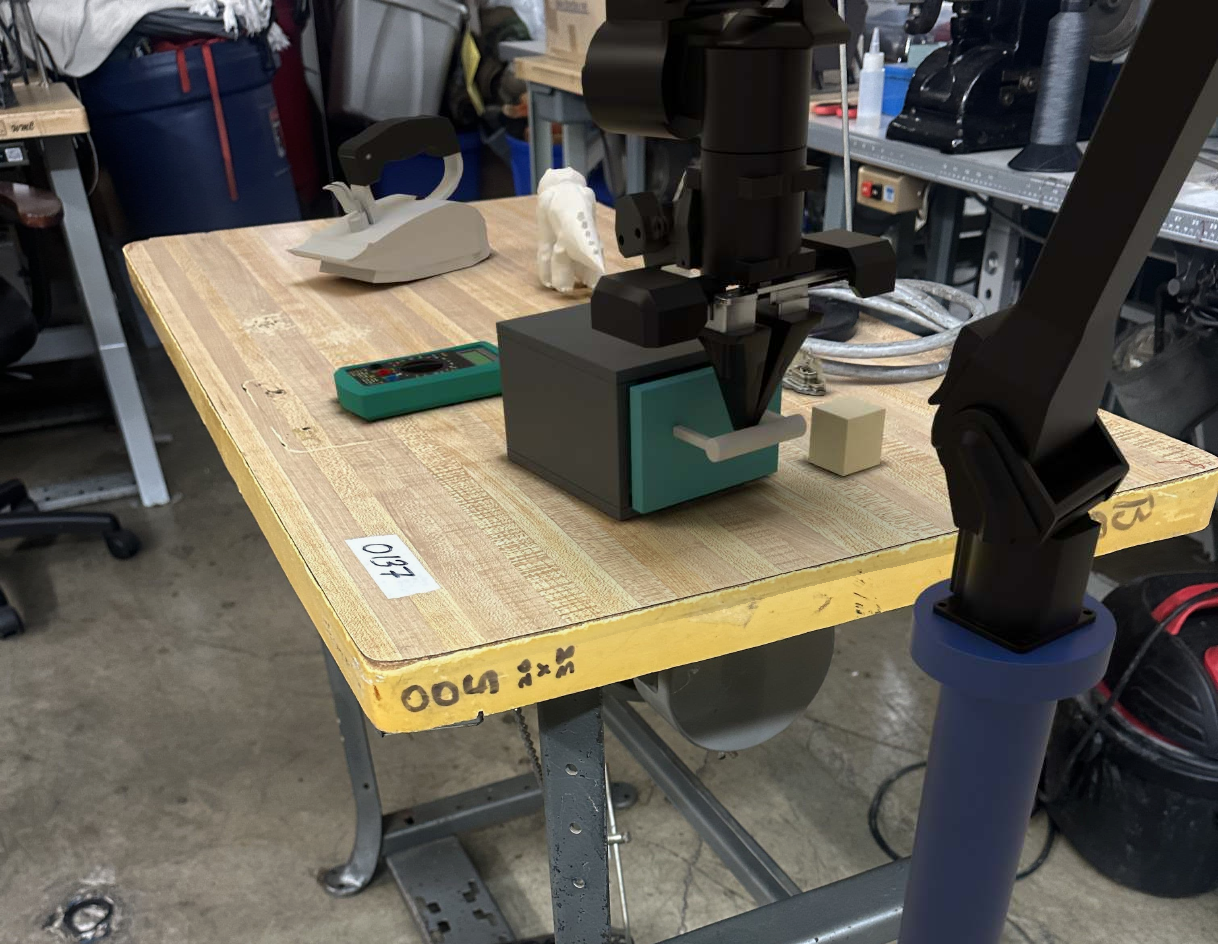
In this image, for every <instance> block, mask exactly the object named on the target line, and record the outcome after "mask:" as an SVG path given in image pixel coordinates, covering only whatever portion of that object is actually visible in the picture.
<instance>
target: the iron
mask: <svg viewBox="0 0 1218 944" xmlns="http://www.w3.org/2000/svg"><path fill="white" fill-rule="evenodd" d="M423 152H424V153H425V154H426V155H427V156H430V157H439V158H443V160H444V173H443V177H442V180H441V181H440V183H439V185H437V187H435V189H434V190H433V191H432V192H431V193H430V194H429V195H428V196H426V197H425V196H424V195H421V194H419V195H409V194H404V193H403V194H402V193H396V194H391V195H388V196H384V197H383V198H380V199H377V200H375V198H374V196H373V193H372V191H371V186H370V185H372V184H374V183H377V182H379V181H380V180H381V177H382V171H383V168H384V167H385V165H386V164H387V163H389V162H399V161H404V160H408V159H409V158H413V157H416V156H417V155H420V154H421V153H423ZM337 157H338V158H337V159H338V160H339V162H340V163H339V164H340V166H341V168H342V171H343V174H344V175H345V179H346V181H347V184H348V185H349V186H350V188H349V186H348V185H346V184H345V183H344V182H342V181H335V182H332V183H331V184H327V185H325V186H323V187H322V189H323V190H329V191H331V192H333V195H334V196H335V197H336V199H337V201H338V202H339V203H340V205H341V207H342V210H343V211H344V213H345V215H343V216H342V217H340V218H339V219H337V220H336V221H333V222H332V223H331V224H329V225H327V226H326V227H324V228H323V229H321V230H320V231H318V232H311V234H310V236H309V237H308V239H307V240H306V241H304V242H303V243H302V244H300V245H298V246H297V247H293V248H289V249H285V251H286V252H288V253H290V254H291V255H293V256H295V257H300V258H304V259H310V260H314V261H320V264H319V270H318V272H319V273H324V274H328V275H333V276H337V277H343V278H348V279H353V280H358V281H363V282H368V283H373V284H381V283H382V284H383V283H384V284H385V283H396V282H398V283H399V282H408V281H414V280H419V279H424V278H429V277H433V276H437V275H440V274H444V273H449V272H453V271H457V270H460V269H461V270H462V269H465V268H469V267H472V266H474V265H476V264H478V263H479V262H481V261H484V260H485V259H487V258H488V257H490V254H491V252H492V249H491V246H490V243H489V239H488V237H489V236H488V228H487V227H488V226H487V222H486V219H485V217H484V216H483V215H482V213H481V212H480V211H479V209H477V207H476V206H473V205H470V204H469V203H467V202H466V203H465V202H460V201H453V200H447V199H448V198H449V197H451V196H452V194H453V193H454V192H455V190H456V189H457V188H458V186H459V183H460V181H461V178H462V177H463V172H464V161H463V157H462V150H461V146H460V143H459V141H458V136H457V133H456V129H455V127H454V125H453V123H452V121H451V120H450V118H448V117H446V116H441V115H433V114H432V115H431V114H418V115H416V116H398V117H390V118H386V119H383V120H380V121H378V122H375V123H373V124H372V125H370V126H369V127H367V128H365V129H364V130H363V131H361V132H360V133H359V134H357V135H355V136H354V137H352V138H350V139H347V140H346V141H344V142H343V143H342V144H341V145H340V146H339V147H338V152H337Z"/></svg>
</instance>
